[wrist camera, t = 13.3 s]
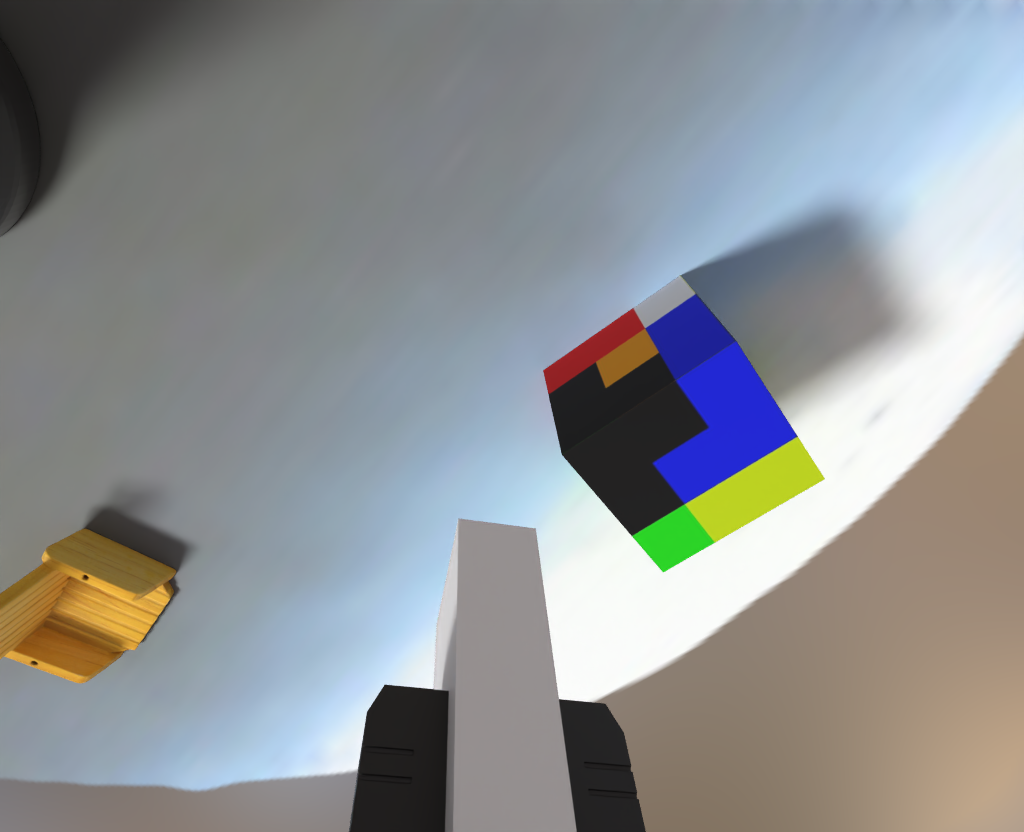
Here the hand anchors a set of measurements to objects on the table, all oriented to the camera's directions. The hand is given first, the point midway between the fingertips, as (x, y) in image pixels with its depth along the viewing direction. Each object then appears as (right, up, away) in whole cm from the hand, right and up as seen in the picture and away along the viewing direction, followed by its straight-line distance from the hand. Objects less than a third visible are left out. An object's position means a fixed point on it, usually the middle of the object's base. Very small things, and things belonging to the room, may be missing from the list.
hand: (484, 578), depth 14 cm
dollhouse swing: (-30, -9, +37) cm, 49 cm away
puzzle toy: (+10, +6, +32) cm, 33 cm away
